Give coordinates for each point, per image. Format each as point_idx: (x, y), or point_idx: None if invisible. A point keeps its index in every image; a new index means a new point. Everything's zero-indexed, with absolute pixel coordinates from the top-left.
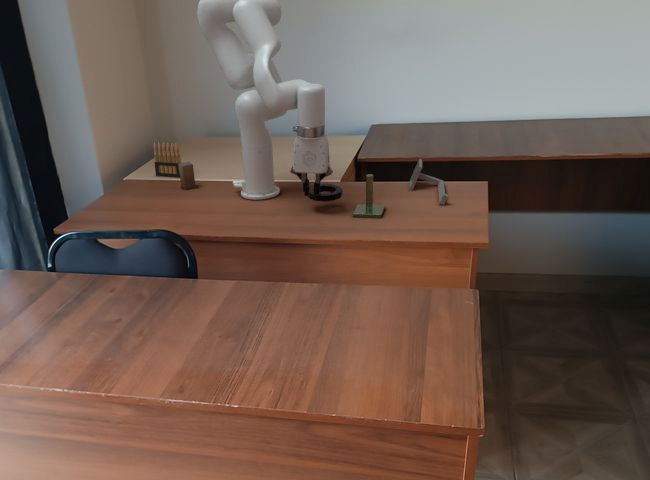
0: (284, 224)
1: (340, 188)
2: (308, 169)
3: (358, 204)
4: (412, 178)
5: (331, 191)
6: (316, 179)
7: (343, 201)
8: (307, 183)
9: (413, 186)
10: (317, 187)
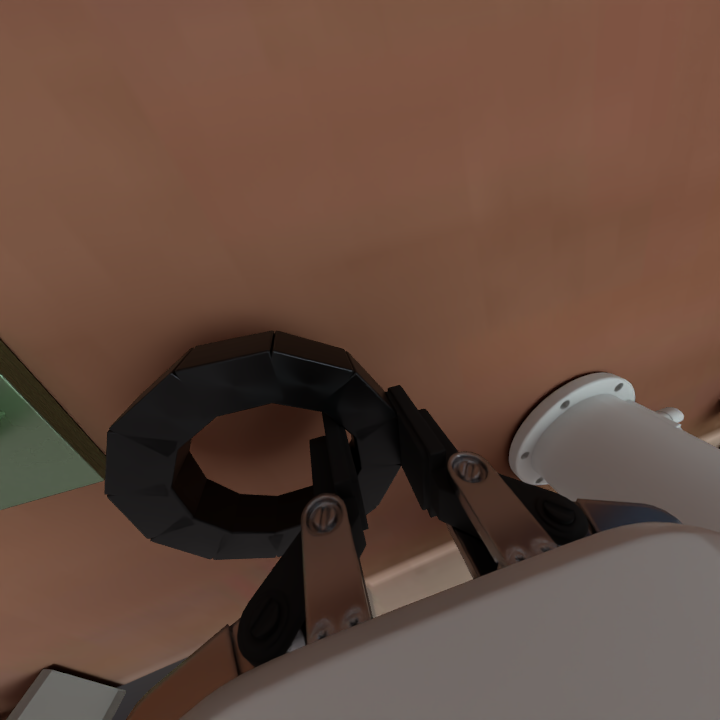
0: (414, 32)
1: (168, 539)
2: (529, 689)
3: (96, 481)
4: (113, 707)
5: (262, 500)
6: (339, 530)
7: (245, 492)
8: (419, 464)
9: (26, 693)
10: (325, 465)
